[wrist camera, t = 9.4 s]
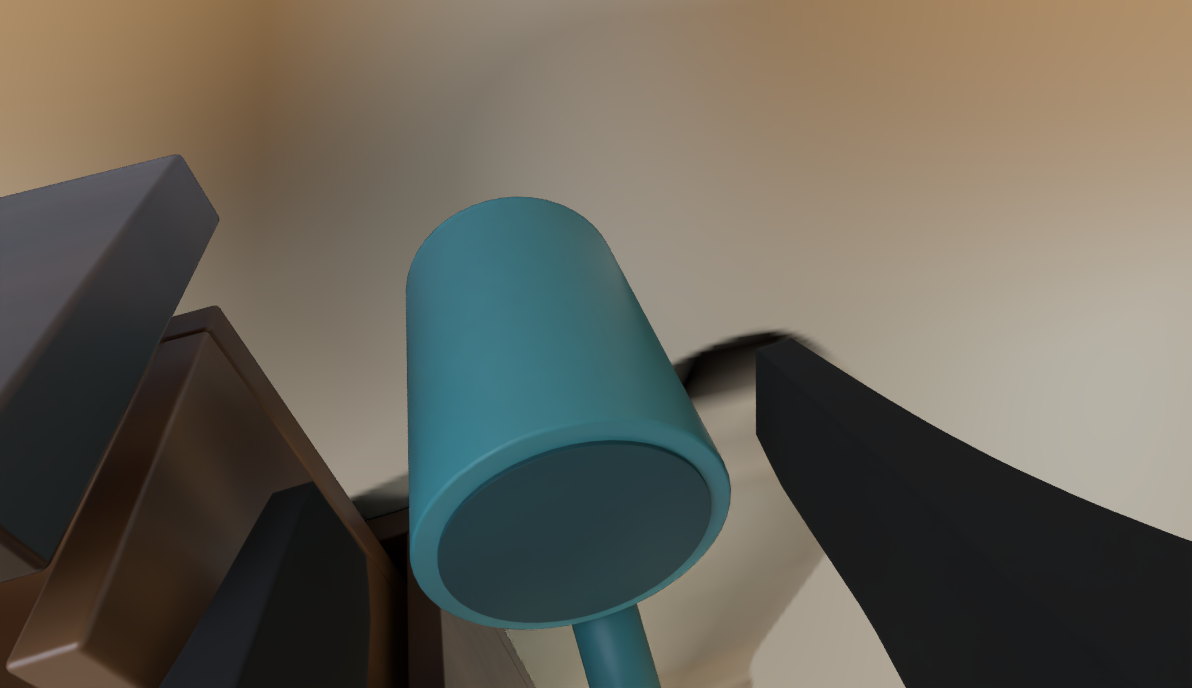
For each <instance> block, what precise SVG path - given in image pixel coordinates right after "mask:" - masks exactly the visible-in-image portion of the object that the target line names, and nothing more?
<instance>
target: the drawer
mask: <svg viewBox="0 0 1192 688" xmlns="http://www.w3.org/2000/svg"><path fill="white" fill-rule="evenodd" d="M218 222H219V216H218V214H217V213H216V211H215V209H214V208H213V206H212V205H211V203H210V201H209V200H208V198H207V196H206V195H205V193H204V191H203V190H202V188H201V187H200V185H199V183H198V182H197V180H196V178H195V177H194V175H193V173H192V172H191V170H190V169H189V167H188V165H187V164H186V162H185V160H184V159H183V157H181V155H170V156H167V157H162V158H158V159H154V160H150V161H147V162H142V163H138V164H134V165H130V166H126V167H122V168H118V169H114V170H110V171H106V172H102V173H98V174H93V175H89V176H85V177H81V178H78V179H73V180H69V181H65V182H61V183H57V184H53V185H49V186H45V187H41V188H37V189H33V190H29V191H25V192H21V193H16V194H12V195H9V196H5V197H0V688H159V686H160V684H161V683H162V681H163V680H164V678H165V676H166V675H167V673H168V672H169V670H170V669H171V667H172V665H173V664H174V662H175V661H176V659H177V658H178V656H179V654H180V653H181V651H182V650H183V648H184V646H185V645H186V643H187V641H188V640H189V638H190V636H191V634H192V633H193V631H194V629H195V628H196V626H197V624H198V622H199V621H200V619H201V617H202V616H203V614H204V612H205V610H206V609H207V607H208V605H209V604H210V602H211V600H212V599H213V597H214V595H215V593H216V592H217V590H218V588H219V586H220V585H221V583H222V581H223V579H224V578H225V576H226V574H227V572H228V571H229V569H230V567H231V565H232V563H233V562H234V560H235V558H236V556H237V555H238V553H239V551H240V549H241V547H242V546H243V544H244V542H245V540H246V538H247V537H248V535H249V533H250V531H251V530H252V528H253V526H254V524H255V522H256V521H257V519H258V517H259V515H260V514H261V512H262V510H263V509H264V507H265V505H266V503H267V502H268V500H269V498H270V497H271V495H272V493H274V492H278V491H281V490H284V489H288V488H291V487H294V486H298V485H301V484H304V483H308V482H311V481H313V482H314V483H315V485H316V486H317V488H318V489H319V490H320V492H321V493H322V494H323V496H324V497H325V499H326V500H327V501H328V503H329V504H330V506H331V507H332V508H333V510H334V511H335V513H336V514H337V515H338V517H339V518H340V520H341V521H342V522H343V524H344V525H345V527H346V528H347V529H348V531H349V532H350V533H351V535H352V536H353V538H354V539H355V540H356V542H357V543H358V545H359V546H360V547H361V549H362V550H363V552H364V553H365V554H366V558H367V570H368V582H369V597H370V614H371V625H370V646H369V664H368V682H367V688H408V605H407V583H406V581H405V580H404V578H403V577H402V575H401V574H400V572H399V571H398V569H397V568H396V566H395V565H394V563H393V562H392V560H391V559H390V558H389V556H388V555H387V553H386V552H385V550H384V549H383V547H382V546H381V544H380V543H379V541H378V540H377V538H376V537H375V535H374V534H373V533H372V531H371V530H370V528H369V527H368V525H367V524H366V522H365V521H364V519H363V518H362V516H361V515H360V513H359V512H358V510H357V509H356V508H355V506H354V505H353V503H352V502H351V500H350V499H349V497H348V496H347V494H346V493H345V491H344V490H343V488H342V487H341V486H340V484H339V483H338V481H337V480H336V478H335V477H334V475H333V474H332V472H331V471H330V469H329V468H328V466H327V465H326V463H325V462H324V460H323V459H322V458H321V456H320V455H319V453H318V452H317V450H316V449H315V447H314V446H313V444H312V443H311V441H310V440H309V438H308V437H307V435H306V434H305V433H304V431H303V430H302V428H301V427H300V425H299V424H298V422H297V421H296V419H295V418H294V416H293V415H292V413H291V412H290V411H289V409H288V407H287V406H286V405H285V403H284V402H283V400H282V399H281V397H280V396H279V394H278V393H277V391H276V390H275V388H274V387H273V385H272V384H271V382H270V381H269V380H268V378H267V377H266V375H265V374H264V372H263V371H262V369H261V368H260V366H259V365H258V363H257V362H256V360H255V359H254V357H253V356H252V355H251V353H250V352H249V350H248V349H247V347H246V346H245V344H244V343H243V341H242V340H241V338H240V337H239V336H238V334H237V332H236V331H235V330H234V328H233V327H232V325H231V324H230V322H229V321H228V320H227V318H226V316H225V315H224V313H223V312H222V311H221V309H220V308H219V307H218V306H211V307H207V308H203V309H200V310H196V311H192V312H188V313H185V314H181V315H177V316H174V317H172V316H173V314H174V312H175V310H176V307H177V306H178V304H179V302H180V299H181V298H182V296H183V293H184V291H185V289H186V287H187V285H188V283H189V281H190V279H191V277H192V275H193V273H194V271H195V269H196V267H197V265H198V262H199V261H200V259H201V257H202V255H203V253H204V251H205V249H206V247H207V244H208V242H209V241H210V238H211V236H212V234H213V232H214V230H215V228H216V226H217V224H218Z"/></svg>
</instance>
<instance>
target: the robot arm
mask: <svg viewBox="0 0 1192 688" xmlns="http://www.w3.org/2000/svg"><path fill="white" fill-rule="evenodd" d="M756 435H757V437H758V439H759V441H760V443H761V445H762V447H763V450H764V452H765V454H766V456H767V458H768V460H769V462H770V464H771V466H772V468H773V470H774V472H775V474H776V476H777V478H778V480H779V482H780V484H781V486H782V487H783V489H784V491H785V492H786V494H787V495H788V497H789V498H790V500H791V501H792V503H793V505H794V506H795V508H796V509H797V511H798V512H799V514H800V515H801V517H802V518H803V520H804V521H805V523H806V524H807V526H808V528H809V529H810V531H811V532H812V534H813V535H814V537H815V538H816V540H817V541H818V543H819V544H820V546H821V547H822V549H823V550H824V552H825V553H826V555H827V556H828V558H829V559H830V561H831V562H832V563H833V565H834V567H835V568H836V570H837V571H838V573H839V574H840V576H841V577H842V579H843V580H844V582H845V583H846V585H847V586H848V588H849V589H850V591H851V592H852V594H853V595H854V597H855V599H856V600H857V601H858V603H859V604H860V606H861V608H862V610H863V611H864V613H865V615H866V616H867V618H868V620H869V621H870V623H871V624H872V626H873V628H874V629H875V631H876V633H877V635H878V636H879V638H880V640H881V642H882V644H883V646H884V648H885V649H886V652H887V653H888V655H889V657H890V659H891V661H892V663H893V665H894V667H895V668H896V670H897V672H898V674H899V676H900V678H901V680H902V681H903V683H904V685H905V687H906V688H1192V541H1189V540H1186V539H1184V538H1181V537H1178V536H1175V535H1173V534H1170V533H1168V532H1165V531H1162V530H1160V529H1157V528H1155V527H1152V526H1149V525H1147V524H1144V523H1142V522H1139V521H1137V520H1134V519H1132V518H1129V517H1127V516H1124V515H1121V514H1119V513H1116V512H1114V511H1111V510H1109V509H1106V508H1104V507H1101V506H1099V505H1096V504H1094V503H1092V502H1089V501H1087V500H1085V499H1082V498H1080V497H1077V496H1075V495H1073V494H1070V493H1068V492H1066V491H1064V490H1062V489H1060V488H1057V487H1055V486H1053V485H1051V484H1049V483H1046V482H1044V481H1042V480H1040V479H1037V478H1035V477H1033V476H1031V475H1029V474H1027V473H1024V472H1022V471H1020V470H1018V469H1016V468H1014V467H1012V466H1010V465H1008V464H1005V463H1003V462H1001V461H999V460H997V459H995V458H993V457H991V456H989V455H987V454H985V453H984V452H982V451H979V450H978V449H976V448H974V447H972V446H970V445H968V444H966V443H965V442H963V441H961V440H959V439H957V438H955V437H953V436H951V435H949V434H948V433H945V432H944V431H942V430H940V429H938V428H937V427H935V426H933V425H931V424H930V423H928V422H926V421H924V420H923V419H921V418H919V417H917V416H916V415H914V414H912V413H911V412H909V411H907V410H905V409H904V408H902V407H901V406H899V405H897V404H895V403H894V402H892V401H890V400H888V399H887V398H885V397H884V396H882V395H880V394H879V393H877V392H876V391H874V390H872V389H871V388H869V387H867V386H866V385H864V384H863V383H861V382H859V381H858V380H856V379H855V378H853V377H852V376H850V375H848V374H847V373H845V372H844V371H842V370H840V369H839V368H837V367H836V366H834V365H833V364H831V363H830V362H828V361H826V360H825V359H823V358H822V357H820V356H819V355H817V354H815V353H814V352H812V351H811V350H809V349H808V348H806V347H804V346H803V345H801V344H800V343H798V342H796V341H795V340H793V339H792V338H790V339H787V340H784V341H780V342H777V343H774V344H770V345H767V346H764V347H760V348H757V349H756ZM370 625H371V614H370V597H369V582H368V570H367V558H366V554H365V553H364V552H363V550H362V549H361V547H360V546H359V545H358V543H357V542H356V540H355V539H354V538H353V536H352V535H351V533H350V532H349V531H348V529H347V528H346V527H345V525H344V524H343V522H342V521H341V520H340V518H339V517H338V515H337V514H336V513H335V511H334V510H333V508H332V507H331V506H330V504H329V503H328V501H327V500H326V499H325V497H324V496H323V494H322V493H321V492H320V490H319V489H318V488H317V486H316V485H315V483H314V482H313V481H311V482H308V483H304V484H301V485H298V486H294V487H291V488H288V489H284V490H281V491H278V492H274V493H272V495H271V497H270V498H269V500H268V502H267V503H266V505H265V507H264V509H263V510H262V512H261V514H260V515H259V517H258V519H257V521H256V522H255V524H254V526H253V528H252V530H251V531H250V533H249V535H248V537H247V538H246V540H245V542H244V544H243V546H242V547H241V549H240V551H239V553H238V555H237V556H236V558H235V560H234V562H233V563H232V565H231V567H230V569H229V571H228V572H227V574H226V576H225V578H224V579H223V581H222V583H221V585H220V586H219V588H218V590H217V592H216V593H215V595H214V597H213V599H212V600H211V602H210V604H209V605H208V607H207V609H206V610H205V612H204V614H203V616H202V617H201V619H200V621H199V622H198V624H197V626H196V628H195V629H194V631H193V633H192V634H191V636H190V638H189V640H188V641H187V643H186V645H185V646H184V648H183V650H182V651H181V653H180V654H179V656H178V658H177V659H176V661H175V662H174V664H173V665H172V667H171V669H170V670H169V672H168V673H167V675H166V676H165V678H164V680H163V681H162V683H161V684H160V686H159V688H367V682H368V664H369V646H370Z"/></svg>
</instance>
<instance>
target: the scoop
mask: <svg viewBox="0 0 1192 688" xmlns="http://www.w3.org/2000/svg"><path fill="white" fill-rule="evenodd" d="M406 327H407V390H408V391H407V392H408V394H407V396H408V461H409V463H408V464H409V531H410V563H411V567H412V570H413V574H414V576H415V578H416V580H417V582H418V584H419V586H420V588H421V589H422V590H423V591H424V593H425V594H426V595H427V596H428V597H429V599H431V600H432V601H433V602H434V603H435V604H437V605H438V606H439V607H440V608H442V609H444V610H445V611H447V612H449V613H450V614H452V615H454V616H457V617H459V618H461V619H464V620H466V621H469V622H473V623H476V624H480V625H484V626H490V627H496V628H505V629H544V628H554V627H561V626H567V625H572V627H573V631H574V634H575V638H576V642H577V645H578V649H579V652H580V656H581V659H582V663H583V666H584V670H585V674H586V677H587V681H588V684H589V688H661V686H660V682H659V679H658V675H657V672H656V669H655V665H654V662H653V658H652V655H651V651H650V648H649V644H648V641H647V638H646V634H645V631H644V627H643V624H642V620H641V617H640V614H639V610H638V607H637V603H638V602H640V601H642V600H644V599H646V598H648V597H650V596H652V595H653V594H655V593H657V592H658V591H660V590H662V589H663V588H665V587H666V586H668V585H669V584H671V583H672V582H673V581H675V580H676V579H678V578H679V577H680V576H682V575H683V574H684V573H685V572H686V571H687V570H689V569H690V568H691V567H692V566H693V565H694V564H695V563H696V562H697V561H698V560H699V559H700V558H701V557H702V556H703V555H704V554H705V553H706V551H707V550H708V549H709V547H710V546H711V545H712V544H713V542H714V541H715V539H716V538H717V536H718V534H719V533H720V531H721V529H722V527H723V525H724V522H725V520H726V517H727V514H728V510H729V506H730V497H731V486H730V479H729V474H728V472H727V469H726V467H725V464H724V462H723V460H722V458H721V456H720V454H719V453H718V451H717V449H716V447H715V445H714V443H713V441H712V439H711V438H710V436H709V434H708V432H707V430H706V428H705V426H704V424H703V422H702V421H701V419H700V417H699V415H698V413H697V411H696V409H695V407H694V406H693V404H692V402H691V400H690V398H689V396H688V394H687V392H686V391H685V389H684V387H683V385H682V383H681V381H680V379H679V377H678V376H677V374H676V372H675V370H674V368H673V366H672V364H671V362H670V361H669V359H668V357H667V355H666V353H665V351H664V349H663V348H662V346H661V344H660V342H659V340H658V338H657V336H656V334H655V333H654V331H653V329H652V327H651V325H650V323H649V321H648V319H647V317H646V316H645V314H644V312H643V310H642V308H641V306H640V304H639V302H638V301H637V299H636V297H635V295H634V293H633V291H632V289H631V287H630V286H629V284H628V282H627V280H626V278H625V276H624V274H623V273H622V271H621V269H620V267H619V265H618V263H617V261H616V259H615V257H614V255H613V254H612V252H611V250H610V248H609V246H608V244H607V243H606V241H605V240H604V238H603V236H602V235H601V234H600V233H599V231H598V230H597V229H596V228H595V227H594V226H593V225H592V224H591V223H590V222H589V221H588V220H587V219H585V218H584V217H583V216H581V215H580V214H578V213H576V212H575V211H573V210H571V209H569V208H567V207H565V206H563V205H561V204H558V203H554V202H551V201H548V200H543V199H538V198H531V197H507V198H499V199H494V200H489V201H485V202H482V203H479V204H476V205H473V206H471V207H469V208H467V209H464V210H462V211H460V212H458V213H457V214H455V215H453V216H452V217H450V218H449V219H447V220H446V221H445V222H443V223H442V224H441V225H440V226H439V227H437V228H436V229H435V230H434V231H433V232H432V233H431V234H430V236H429V237H428V238H427V239H426V240H425V241H424V243H423V244H422V246H421V247H420V249H419V250H418V251H417V253H416V255H415V258H414V260H413V262H412V264H411V267H410V270H409V273H408V277H407V285H406Z"/></svg>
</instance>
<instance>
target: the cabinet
mask: <svg viewBox="0 0 1192 688" xmlns="http://www.w3.org/2000/svg"><path fill="white" fill-rule="evenodd" d="M365 522H366V524H367V525H368V527H369V528H370V530H371V531H372V533H373V534H374V535H375V537H376V538H377V540H378V541H379V543H380V544H381V546H382V547H383V549H384V550H385V552H386V553H387V555H388V556H389V558H390V559H391V560H392V562H393V563H394V565H395V566H396V568H397V569H398V571H399V572H400V574H401V575H402V577H403V578H404V580H405V581H406V583H407V605H408V688H535V686H534V684H533V682H532V681H531V679H530V677H529V675H528V673H527V671H526V669H525V668H524V666H523V664H522V662H521V660H520V658H519V656H518V655H517V653H516V651H515V649H514V647H513V645H512V643H511V642H510V640H509V638H508V636H507V634H506V632H505V631H504V629H503V628H496V627H490V626H484V625H480V624H476V623H473V622H469V621H466V620H464V619H461V618H459V617H457V616H454V615H452V614H450V613H449V612H447V611H445V610H444V609H442V608H440V607H439V606H438V605H437V604H435V603H434V602H433V601H432V600H431V599H429V597H428V596H427V595H426V594H425V593H424V591H423V590H422V589H421V588H420V586H419V584H418V582H417V580H416V578H415V576H414V574H413V570H412V567H411V563H410V531H409V508H408V509H405V510H401V511H398V512H395V513H391V514H388V515H385V516H382V517H378V518H375V519H372V520H368V521H365Z"/></svg>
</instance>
